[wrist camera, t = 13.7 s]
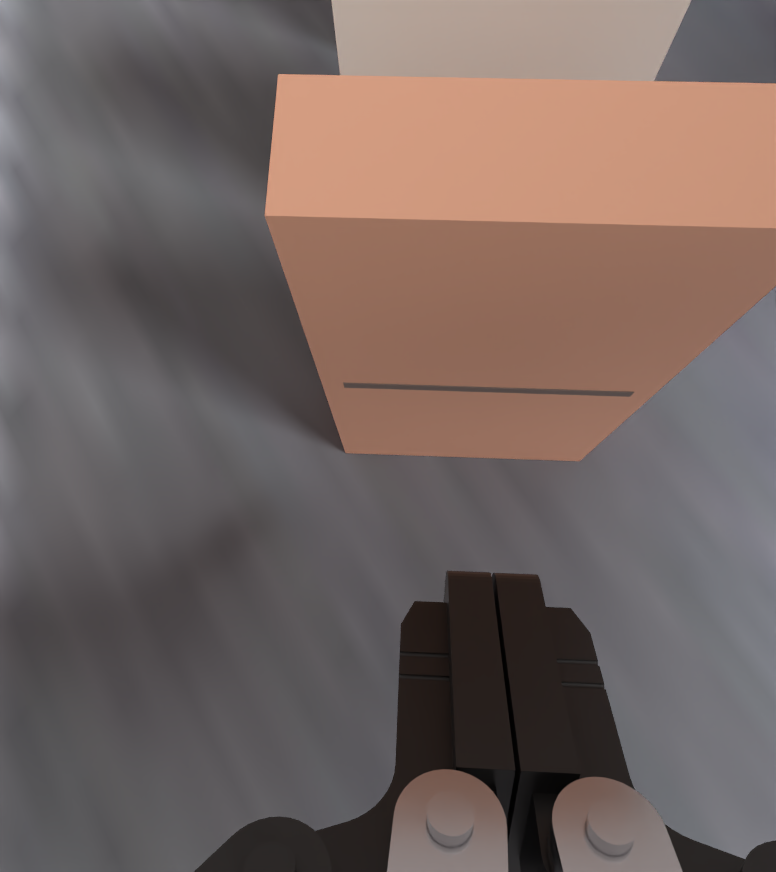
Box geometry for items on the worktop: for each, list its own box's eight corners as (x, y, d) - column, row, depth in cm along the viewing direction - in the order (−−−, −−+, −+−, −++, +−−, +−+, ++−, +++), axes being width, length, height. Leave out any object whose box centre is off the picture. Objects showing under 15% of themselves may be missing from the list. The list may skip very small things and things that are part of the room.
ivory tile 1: (362, 186, 20) (318, -301, 9) (573, 191, 20) (769, -300, 9) (359, 244, 20) (307, -201, 9) (575, 250, 19) (783, -197, 9)
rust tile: (349, 386, 19) (278, 72, 8) (577, 393, 18) (818, 83, 8) (345, 453, 18) (264, 217, 7) (579, 461, 18) (838, 231, 7)
